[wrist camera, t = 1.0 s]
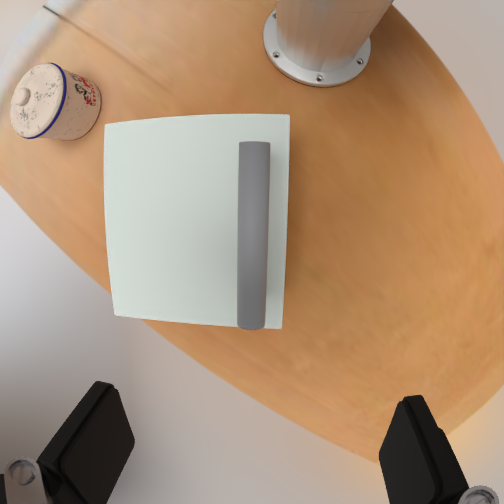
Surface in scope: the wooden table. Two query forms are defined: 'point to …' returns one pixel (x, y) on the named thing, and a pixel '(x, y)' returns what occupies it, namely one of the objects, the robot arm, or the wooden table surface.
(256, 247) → the carton lid
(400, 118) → the wooden table surface
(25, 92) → the teacup with lid
